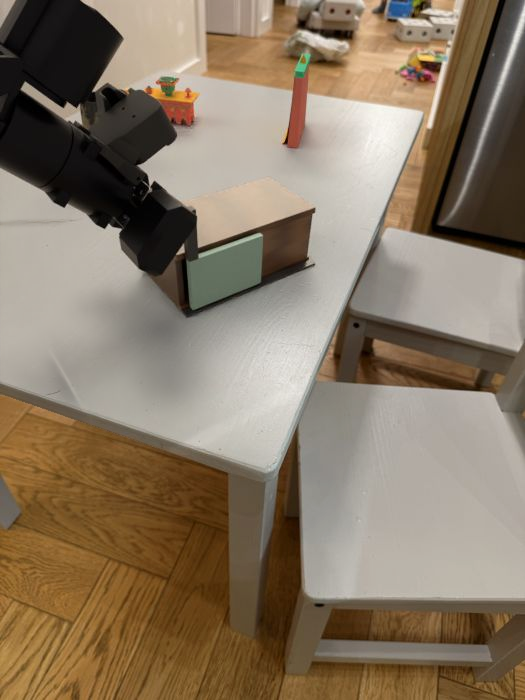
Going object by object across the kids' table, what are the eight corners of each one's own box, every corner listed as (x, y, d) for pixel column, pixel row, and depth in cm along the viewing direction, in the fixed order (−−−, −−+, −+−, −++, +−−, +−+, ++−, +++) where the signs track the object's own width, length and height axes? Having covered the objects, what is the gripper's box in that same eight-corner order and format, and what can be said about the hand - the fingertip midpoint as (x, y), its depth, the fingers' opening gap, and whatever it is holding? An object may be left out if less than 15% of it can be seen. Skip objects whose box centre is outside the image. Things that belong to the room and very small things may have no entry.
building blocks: (297, 148, 95) (305, 65, 85) (122, 127, 98) (109, 45, 88) (305, 123, 104) (312, 46, 94) (143, 105, 107) (134, 29, 97)
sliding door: (192, 311, 59) (185, 212, 50) (188, 306, 60) (180, 208, 50) (261, 283, 64) (266, 188, 54) (256, 279, 64) (261, 184, 55)
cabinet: (186, 317, 59) (182, 261, 53) (143, 270, 65) (135, 215, 60) (315, 264, 68) (322, 211, 62) (266, 227, 74) (269, 176, 68)
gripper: (163, 101, 33) (284, 209, 45) (60, 34, 43) (182, 137, 56) (74, 240, 35) (213, 306, 47) (-4, 144, 45) (127, 219, 58)
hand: (182, 234), depth 52 cm, fingers closed, pressing on sliding door
